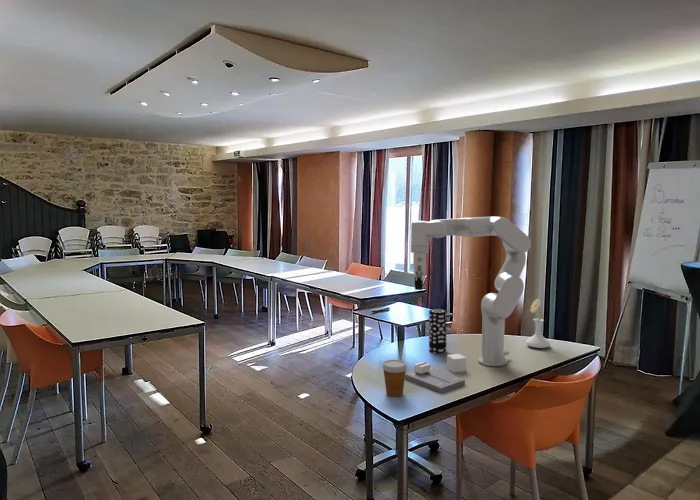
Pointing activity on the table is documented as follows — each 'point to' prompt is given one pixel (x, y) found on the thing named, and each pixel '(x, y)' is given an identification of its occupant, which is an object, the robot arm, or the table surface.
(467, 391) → the table surface
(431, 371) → the console
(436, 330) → the spotted tube
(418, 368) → the fader
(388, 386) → the disposable coffee cup
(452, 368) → the white cube
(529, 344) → the flower in vase
